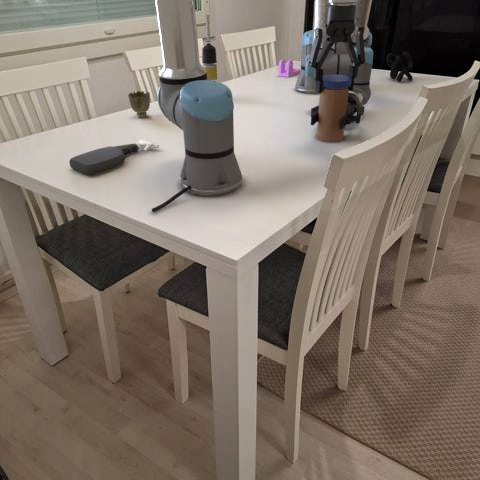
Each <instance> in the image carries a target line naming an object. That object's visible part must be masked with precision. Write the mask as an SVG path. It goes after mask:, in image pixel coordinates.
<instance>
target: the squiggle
mask: <svg viewBox="0 0 480 480" xmlns="http://www.w3.org/2000/svg"><path fill="white" fill-rule="evenodd" d="M401 57H402V59H401ZM391 59H392V60H391ZM393 60H394V61H393ZM385 61H386V64H387V67H390V68H391V70H390V72H389V78H390V79H391V80H395V79H396V81H397V82H399V83H400V82H402V81H403V79H404V76H406V78H407V80H408V81H412V80H413V79H414V77H413V75H412V74H411V73H410V72H409V71H410V70H412V69H413V68H414V64H413V61H412V57H411V54H410V53H409V52H408V51H403V53H402V54H401V55H396V54H394V53H392V52H390V53H387V55H386V57H385ZM406 62H407V65H408V66H407V67H405V66H404V65H405V64H406ZM400 70H401V71H400Z"/></svg>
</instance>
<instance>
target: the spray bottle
mask: <svg viewBox="0 0 480 480" xmlns="http://www.w3.org/2000/svg"><path fill="white" fill-rule="evenodd" d="M159 148H160V145H159V144H158V143H155V142H151V141H148V140H144V139H139V140H138V141H137V142H135V143H129V144H128V143H126V144H122V145H113V146H105V147H100V148H97V149H94V150H90V151H87V152H83V153H81V154H78V155H74V156H73V157H70V159H69V161H68V162H69V167H70V168H71V169H72V170H74V171H75V172H78V173H81V174H83V175H85V176H89V177H90V176H91V177H92V176H95V175H99V174H102V173H105V172H107V171H110V170H113V169H116V168H118V167H120V166H122V165H123V164H124V163H125V158H126V156H127V155H131V154H133V153H138V151H140V150H143V151H144V152H146V151H147V150H149V149H159Z"/></svg>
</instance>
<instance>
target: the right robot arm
mask: <svg viewBox="0 0 480 480" xmlns="http://www.w3.org/2000/svg"><path fill="white" fill-rule="evenodd" d="M372 2H373V0H357V2H356V3H354V5H356V16H355V21H354V24H355V26H363V27H365V30H364V35H363V38H364V50H365V63H364V64H361V65H360V67H358V72H357V78H354V86H353V91H350V90H349V91H348V100H347V110H346V115H345V116H344V117H343V118H342V119H341V120H340V129H343V128H344V127H345V128H346V127H347V126H348V125H351V124H353V123H354V122H355V124H360V123H361V119H362V117H363V116H364V115H365V109H366V107H365V105H366V104H367V103H368V102H369V101H370V98H371V96H372V90H371V88H370V87H371V86H370V85H371V75H372V69H373V64H374V63H373V60H374V51H373V49H372V43H373V35H372V33H371V32H370V29H369V27H368V22H369V18H370V17H369V16H370V12H371V7H372ZM329 5H330V3H329V2H328V0H314V3H313V21H312V29H311V30H308V31H305V32H304V33H303V34H302V40H301V57H300V73H299V74H298V77H297V80H296V82H295V87H294V88H295V91H296V92H298V93H301V94H308V95H320V93H317V92H316V81H315V80H314V68H313V67H311V66H309V65H308V61H309V58H310V54H311V50H312V47H313V43H314V39H315V29H316V28H324V27H325V26H326V24H327V10H328V6H329ZM355 35H356V34H355V32H353V33H352V35H351V38H352V41H353V46H354V49H355V52H356V55H357V48H356V37H355ZM326 38H327V34H326V32H325V33H324V36H323V38H322V42H321V46H320V50H319V53H318V56H319V54H320V52H321V50H322V48H323V46H324V44H325V40H326ZM317 58H318V57H317ZM349 66H352V63H351V60H350V57H349V55H348V52H347V49H346V46H345V44H344V42H338V43H334V45H333V46H332V47H331V49H330V51H329V53H328V55H327V57H326V59H325V61H324V63H323V65H322V67H321V69H323V76H324V75H345V76H348V70H349ZM318 111H319V104H318V105H316V106H314V107H311V108H310V126H314V125H315V124H318ZM345 128H344V129H345Z"/></svg>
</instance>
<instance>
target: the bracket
mask: <svg viewBox="0 0 480 480" xmlns="http://www.w3.org/2000/svg"><path fill="white" fill-rule="evenodd" d="M300 71H301V68H297V67H296V68H295V67H294V62H293V60H289V59H288V60H287V62H286V60H285V59H279V61H278V74H277V75H278V77H284V78H290V77H293V76H296V75H299V74H300Z"/></svg>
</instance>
